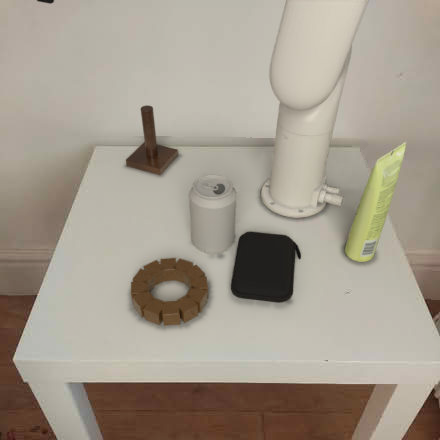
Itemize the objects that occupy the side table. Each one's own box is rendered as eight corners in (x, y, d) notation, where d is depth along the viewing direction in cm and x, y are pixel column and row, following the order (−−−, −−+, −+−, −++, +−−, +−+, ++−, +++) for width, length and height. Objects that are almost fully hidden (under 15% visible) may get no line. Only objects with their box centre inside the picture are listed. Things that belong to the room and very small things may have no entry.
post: (178, 155, 97) (174, 103, 89) (160, 175, 92) (154, 122, 84) (145, 147, 99) (139, 95, 91) (126, 166, 94) (117, 113, 86)
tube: (342, 239, 80) (371, 138, 65) (371, 241, 80) (407, 140, 65) (345, 262, 76) (376, 160, 62) (375, 264, 76) (414, 162, 61)
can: (230, 260, 76) (232, 202, 67) (186, 253, 77) (183, 195, 68) (237, 231, 81) (240, 174, 72) (197, 225, 82) (195, 168, 73)
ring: (219, 282, 73) (219, 270, 71) (187, 335, 66) (186, 324, 64) (155, 261, 76) (154, 250, 74) (118, 310, 69) (116, 299, 67)
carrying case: (297, 310, 69) (300, 245, 79) (300, 297, 67) (303, 232, 77) (228, 302, 70) (239, 239, 80) (229, 289, 68) (240, 225, 78)
